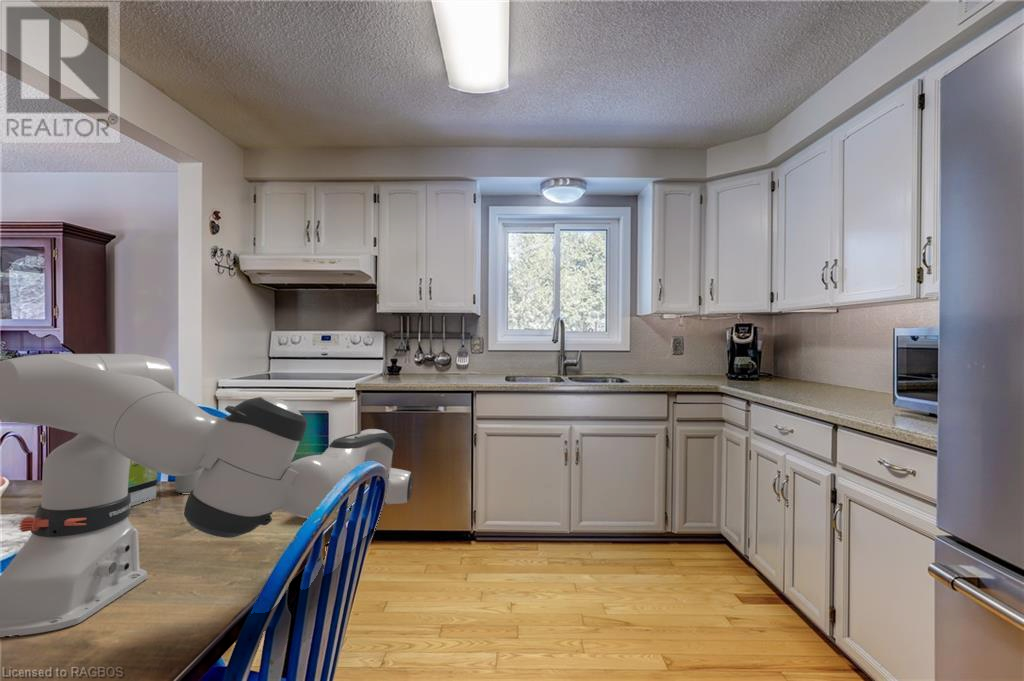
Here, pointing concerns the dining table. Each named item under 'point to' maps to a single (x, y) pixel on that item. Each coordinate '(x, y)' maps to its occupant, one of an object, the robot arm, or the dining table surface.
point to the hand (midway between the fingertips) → (299, 480)
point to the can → (187, 482)
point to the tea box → (141, 483)
